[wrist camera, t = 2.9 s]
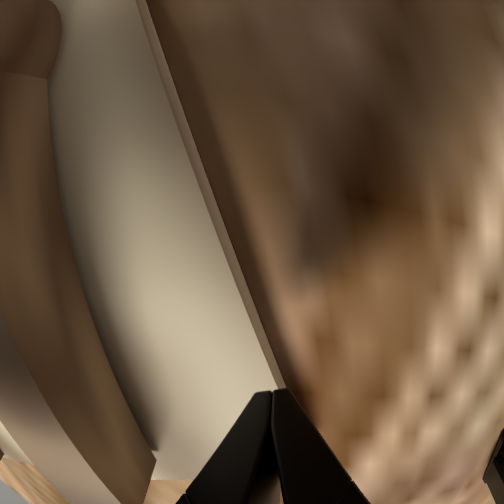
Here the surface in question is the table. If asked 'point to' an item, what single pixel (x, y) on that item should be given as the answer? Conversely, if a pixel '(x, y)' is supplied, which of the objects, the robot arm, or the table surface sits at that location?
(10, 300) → the hinged leg
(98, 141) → the board
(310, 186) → the table surface
